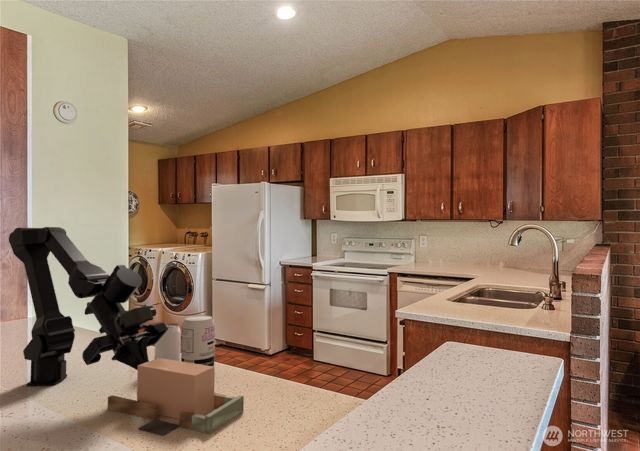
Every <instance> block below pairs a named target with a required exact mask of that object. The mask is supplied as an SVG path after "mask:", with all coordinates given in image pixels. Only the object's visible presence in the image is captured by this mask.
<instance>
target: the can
mask: <svg viewBox="0 0 640 451" xmlns="http://www.w3.org/2000/svg"><path fill="white" fill-rule="evenodd" d="M164 324H165V325H166V327H167V328H168V330H167V332H166V333H165V334H164V335H163V336H162V337H161V338H160V340H159V341H158V342H157V343H156V344H154V359H153V360H155V359H158V358H163V359H170V360H176V361H181V337H182V330H181V327H180V324H179V323H174V322H170V323H168V322H166V323H164Z"/></svg>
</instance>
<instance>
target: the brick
mask: <svg viewBox="0 0 640 451" xmlns="http://www.w3.org/2000/svg"><path fill="white" fill-rule="evenodd" d="M215 369H216V368H215V366H214V367H213V366H207V365H200V364H194V363H188V362H182V361H181V360H180V361H176V360H170V359H163V358H158V359H155V360H154V359H152V360H149V362H146V363H143V364H140V365H138V370H137V377H136V379H137V380H136V382H137V383H136V384H137V385H136V387H137V388H136V401H140V402H145V403H149V404H154V405H158V406H159V416H163V417H168V418H173V419H177V420H179V413H180V412H182V411H185V412H190V413H194V414H199V415H203V416H206V415H208V414H209V413H211V412H213V411H214V410H215V407H214V393H215V374H216V373H215V372H216V371H215Z"/></svg>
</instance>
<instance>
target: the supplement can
mask: <svg viewBox="0 0 640 451" xmlns="http://www.w3.org/2000/svg"><path fill="white" fill-rule="evenodd" d="M183 319H184V320H183V322H182V324H181V338H180V361H182V362H188V363H194V364H200V365H207V366H213V367H215V349H216V348H215V347H216V346H215V344H216V343H215V342H216V341H215V339H216V337H215V336H216V335H215V334H216V333H215V332H216V328H215V327H216V323H215V321H214V319H213V316H211V315H191V316H186V317H184V318H183Z"/></svg>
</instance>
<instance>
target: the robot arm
mask: <svg viewBox="0 0 640 451" xmlns="http://www.w3.org/2000/svg"><path fill="white" fill-rule="evenodd" d="M8 243H9V244H10V247H11V250H12V253H13V255H14V257H16V258H18V260H20V261H21V263H23V265H24V270H25V274H26V279H27V282H28V286H29V288H28V289H29V291H30V296H31V300H32V304H33V309H34V313H35V318H36V319H35V321H34V324H33V327H32V329H31V332H30V333H31V340H30V341H29V343H27V345H26V346H25V347H24V349H23V357H24V360H28V361H30V380H29V381H28V382H26V384H25V385H26V386H55V385H57V384H58V383H60V382H61V381H63V380H64V379H65V378H67V377H68V374H67V360H66V359H65V358H66V357H65V354H71V352H72V348H73V344H74V340H75V339H76V338H75V336H76V335H75V334H76V333H75V332H76V329H75V327H74V325H73V319H72V317H71V316H70V315H68V316H67V315H64V314H63V313H62V312H61V311H60V306H59V303H58V298H57V293H56V289H55V286H54V285H55V284H54V282H53V278H52V277H53V276H52V273H51V269H50V265H49V261H48V257H49V255H50V253H51V254H52V256H54V258H55V259H56V260H57V261H58V263H59V264H60V265H61V267H62V268H63V269H64V271H65V272H66V273H67V274H68V281H67V282H68V286H69V287H70V289H71V291H72V293H73V294H74V296H75V297H76V298H77V299H87V298H92V299H91V301H89V302H87V303H86V307H85V308H84V315H85V316H86V315H87V316H88V315H92V314H93V315H94V317H95V318H96V320H97V322H98V323H99V325H100V328H99V329H98V332H99V333H100V334H105V335H102V336H97V337H94V338H93V339H92V340H91V341H90V342H89V344H88V345H86V348H85V349H84V350H83V351H82V360H83V362H84V363H85V365H86V366H88V365H89V366H90V365H93V364H96V363H99V362H100V360H101V358H102V355H101V354H102V353H106V352H110V351H112V352H113V356H112V357H111V360H112V362H113V361H114V362H115V361H116V362H119V363H122V364H124V365H126V366H129V367H130V368H132V369H135V370H136V371H138V365H140V364H143V363H146V362H149V361H150V360H149V354H148V347H152V346H155V344H156V343H157V342H158V341H159V340H160V338H161V337H162V336H163V335H164V334H165V333H166V332H167V330H168V328H167V327H166V325H165V324H166V323H165V322H162V321H158V322H155V323H154V322H153V323H151V324H148V325H147V326H146V328H144V324H145V323H147V322H149V321H153V320H154V317H155V316H156V315H157V309H156V307H155V306H154V304H153V303H152V302H149V303H144V305H141V306H139V307H136V308H132V309H128V310H126V309H125V308H124V306H123V305H122V303H123V304H125V303H127V302H128V301H129V299H131V297H132V296H133V295H134V294H135V292H136V291H137V290H138V288H139V287H140V286H141V285H142V283H143V279H142V276H141V275H140V274H139V273H138V272H136V271H135V270H133V269H131V268H127V267H126V265H125V264H117V265H116V266H115V267H114V269H113V271H112V272H111V274H108V272H106V270H104V269H103V268H102V267H100V266H98V265H97V264H94V263H92V262H90V261H89V260H88V259H87V258H86V257H85V256H84V254H83V253H82V251H80V249H78V247H77V246H76V245H75V244H74V242H73V241H72V240H71V238H69V236H68V235H67V232H66V229H64V228H62V227H59V226H56V227H55V226H44V227H15V229H13V231H12V232H10V233H9V235H8ZM143 328H144V330H143V331H142V332H139V331H140V330H142V329H143Z"/></svg>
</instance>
